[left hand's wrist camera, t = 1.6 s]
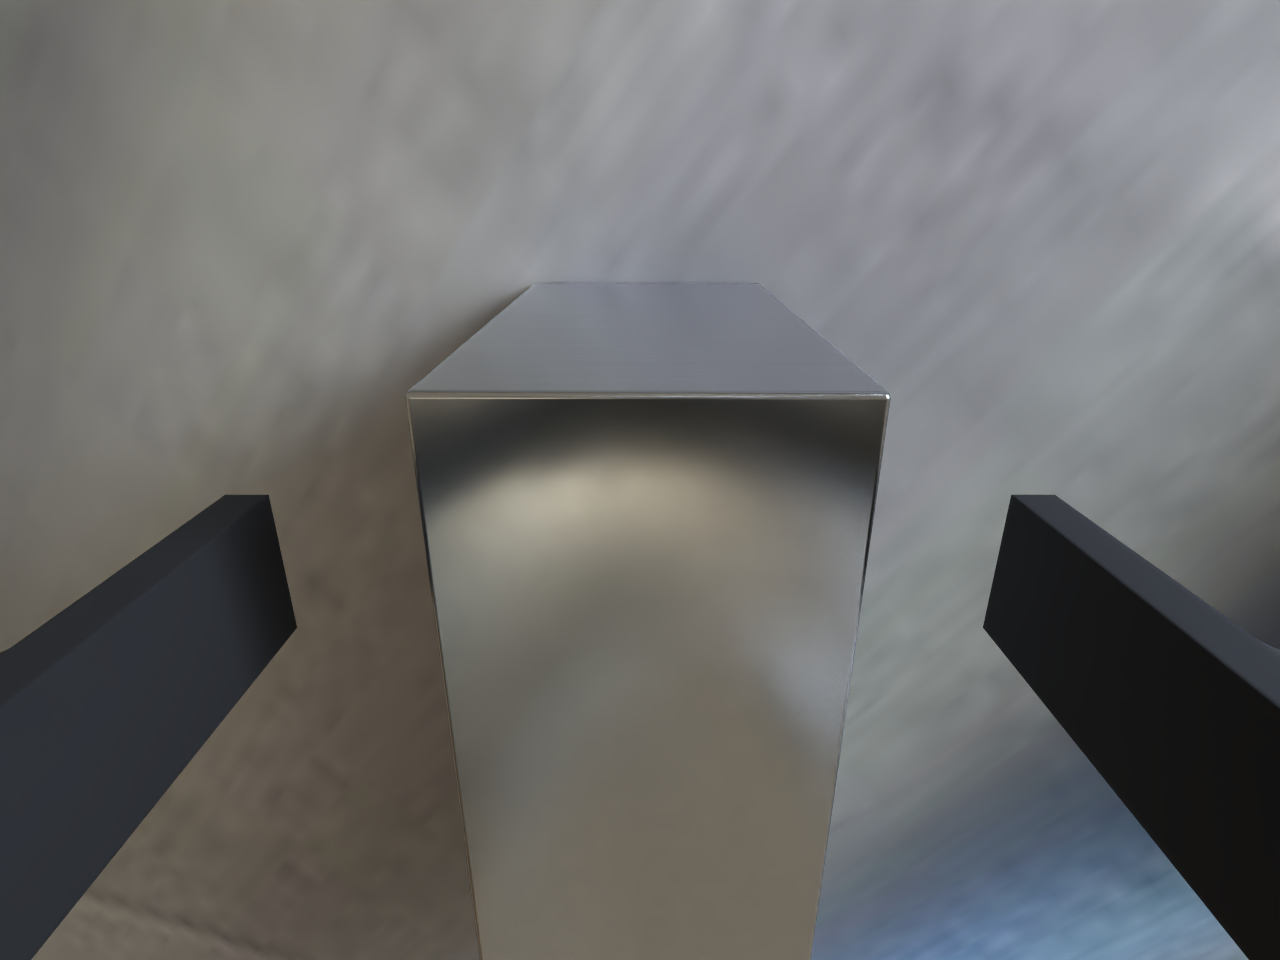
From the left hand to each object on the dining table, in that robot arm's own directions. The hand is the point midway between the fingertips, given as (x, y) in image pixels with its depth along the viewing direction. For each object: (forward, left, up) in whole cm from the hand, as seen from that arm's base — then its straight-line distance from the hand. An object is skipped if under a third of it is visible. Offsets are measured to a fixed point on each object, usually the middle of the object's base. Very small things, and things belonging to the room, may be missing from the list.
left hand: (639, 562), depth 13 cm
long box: (+7, +4, -9) cm, 13 cm away
